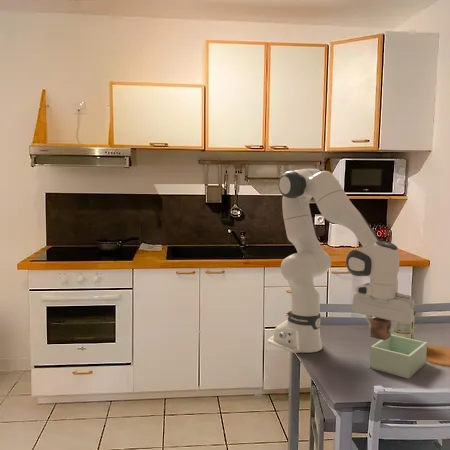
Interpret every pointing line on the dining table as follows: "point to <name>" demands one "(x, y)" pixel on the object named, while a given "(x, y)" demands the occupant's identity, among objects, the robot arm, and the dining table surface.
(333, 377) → the dining table surface
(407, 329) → the coffee can
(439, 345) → the dining table surface
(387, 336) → the block
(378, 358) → the bin
